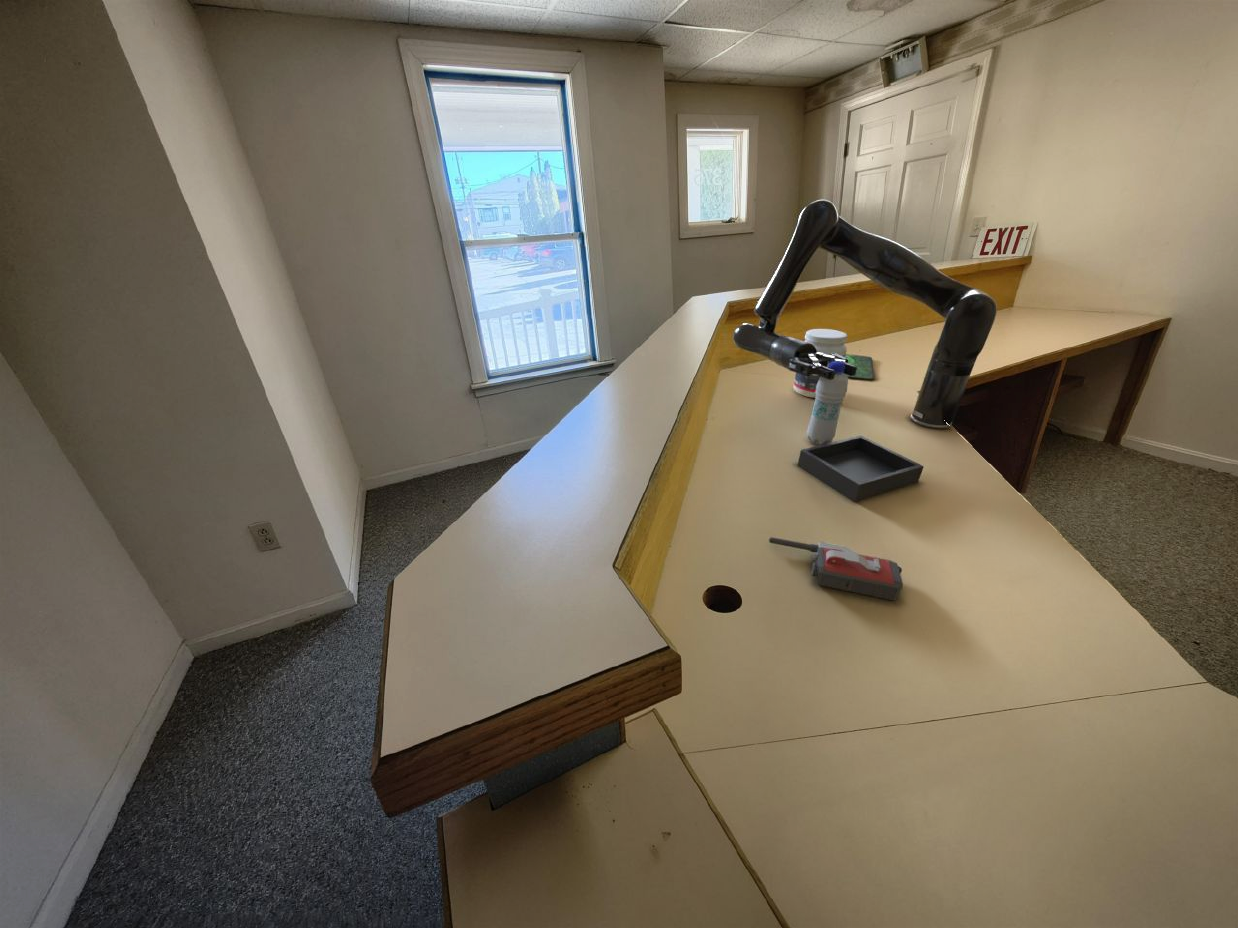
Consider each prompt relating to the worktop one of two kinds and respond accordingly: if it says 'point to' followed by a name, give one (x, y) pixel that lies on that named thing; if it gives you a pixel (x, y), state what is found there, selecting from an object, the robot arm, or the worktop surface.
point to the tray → (859, 467)
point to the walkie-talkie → (851, 569)
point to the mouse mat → (861, 366)
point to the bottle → (827, 405)
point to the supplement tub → (823, 343)
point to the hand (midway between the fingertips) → (844, 373)
